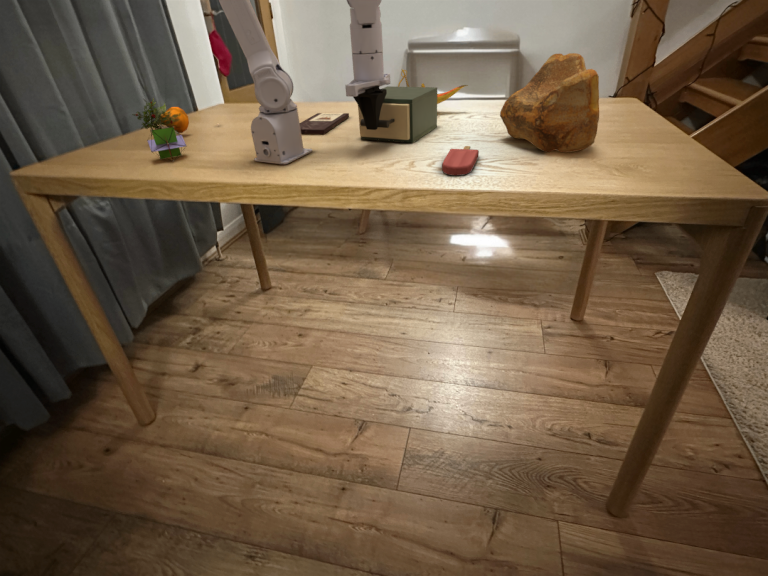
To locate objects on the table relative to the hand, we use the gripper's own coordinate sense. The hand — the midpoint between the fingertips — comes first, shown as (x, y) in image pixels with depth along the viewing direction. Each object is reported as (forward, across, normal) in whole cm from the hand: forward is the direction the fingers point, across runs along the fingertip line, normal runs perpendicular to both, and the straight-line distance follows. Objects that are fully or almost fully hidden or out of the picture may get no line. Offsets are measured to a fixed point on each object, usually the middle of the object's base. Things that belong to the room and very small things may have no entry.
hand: (372, 129), depth 86 cm
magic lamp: (+4, +34, 0) cm, 35 cm away
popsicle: (+4, -4, -20) cm, 21 cm away
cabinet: (+4, +13, 0) cm, 14 cm away
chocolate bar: (+4, +15, +23) cm, 28 cm away
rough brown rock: (+4, +14, -31) cm, 34 cm away
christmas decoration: (+3, +8, +51) cm, 51 cm away
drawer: (+3, +10, 0) cm, 10 cm away
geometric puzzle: (+4, -19, +38) cm, 43 cm away
